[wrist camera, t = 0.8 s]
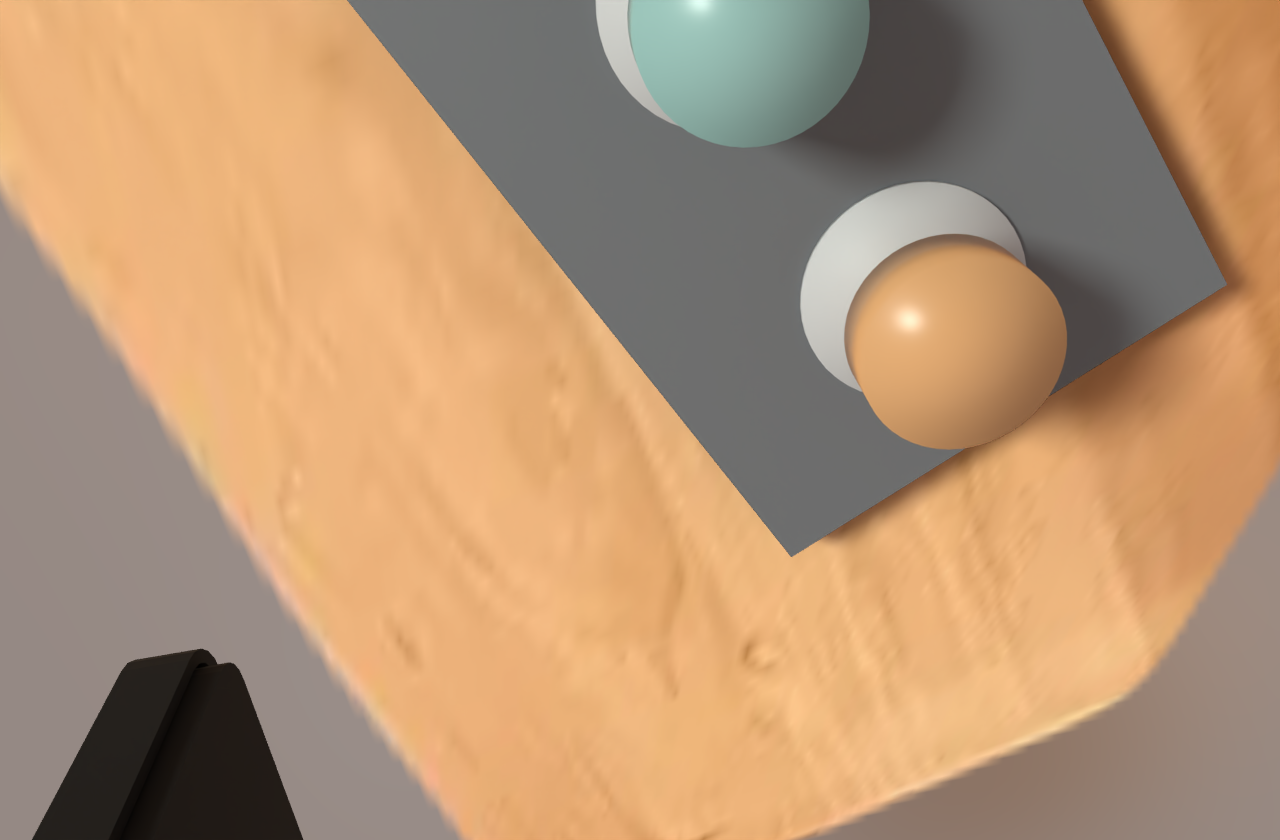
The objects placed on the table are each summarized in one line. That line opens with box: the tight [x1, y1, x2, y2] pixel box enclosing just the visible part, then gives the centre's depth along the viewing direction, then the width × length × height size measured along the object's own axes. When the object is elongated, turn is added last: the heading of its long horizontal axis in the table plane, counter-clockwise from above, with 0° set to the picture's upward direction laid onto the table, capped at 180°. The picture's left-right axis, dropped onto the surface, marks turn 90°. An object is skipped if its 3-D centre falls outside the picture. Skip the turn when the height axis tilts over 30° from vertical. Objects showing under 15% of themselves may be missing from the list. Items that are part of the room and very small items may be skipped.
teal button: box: [627, 0, 870, 148], centre depth 25 cm, size 5×5×3 cm
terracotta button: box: [844, 234, 1067, 450], centre depth 28 cm, size 5×5×3 cm
